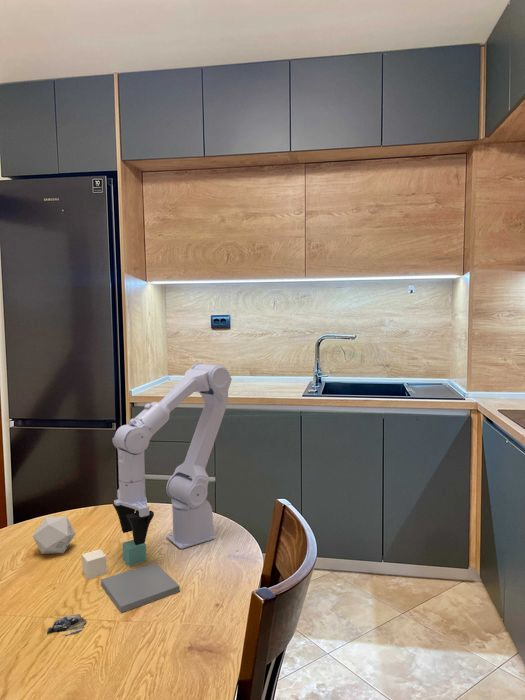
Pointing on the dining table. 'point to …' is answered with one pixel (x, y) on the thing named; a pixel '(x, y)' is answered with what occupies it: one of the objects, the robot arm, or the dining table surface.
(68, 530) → the die
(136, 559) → the teal cube
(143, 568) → the plate
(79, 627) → the blueberries
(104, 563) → the cream cube
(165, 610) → the dining table surface
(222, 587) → the dining table surface
